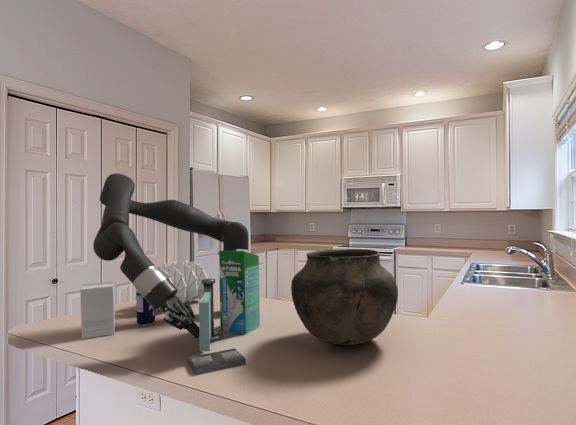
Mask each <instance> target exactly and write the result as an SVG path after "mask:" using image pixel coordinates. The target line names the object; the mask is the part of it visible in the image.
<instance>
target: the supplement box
mask: <svg viewBox="0 0 576 425" xmlns="http://www.w3.org/2000/svg"><path fill="white" fill-rule="evenodd" d="M114 288H115V287H114V283H113V281H108V282H97V283H96V282H95V283H84V284H82V285H81V288H80V290H79V291H80V320H81V321H80V322H81V324H80V326H81V328H80V329H81V339H82V340H86V339H92V338H99V337H105V336H111V335H115V331H116V330H115V329H116V328H115V322H116V321H115V291H114V290H115V289H114Z"/></svg>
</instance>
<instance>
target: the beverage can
mask: <svg viewBox="0 0 576 425" xmlns="http://www.w3.org/2000/svg"><path fill="white" fill-rule="evenodd" d="M135 296H136V298H135V300H136V303H135V304H136V305H135V306H136V324H137V325H138V326H139V325H140V326H139V327H149V326H148V325H150V326H152V325H153V324H154V323H155V322H156V314H155V313H156V310H155V309H154V308H153V307H152V306H151V305H150V304H149V303H148V302H147V301H146V300H145V298H144V297H143V296H142V295H141V294H140V293H139V292H138V291H137V290H136V292H135Z"/></svg>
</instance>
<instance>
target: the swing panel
mask: <svg viewBox="0 0 576 425" xmlns="http://www.w3.org/2000/svg"><path fill="white" fill-rule="evenodd" d="M198 323H199V324H198V327H199V339H200V341H199V352H210V350H211V342H210V338H211V292H205V293H204V295H203V297H202V298H201V300H199V302H198Z"/></svg>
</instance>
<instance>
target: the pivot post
mask: <svg viewBox="0 0 576 425" xmlns="http://www.w3.org/2000/svg"><path fill="white" fill-rule="evenodd" d="M215 283H216V279H215V278H212V277H211V278H208V279H202V280H201V284H203V294H204V293H205V292H211V338H210V343H213V342H217V341H219V340H221V339H222V333H221V332H220V331H215V319H214V318H215V317H214V316H215V314H214V312H215V310H214V308H215V307H214V284H215ZM196 341H197V342H200V339H199V338H198V339H196Z"/></svg>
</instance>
